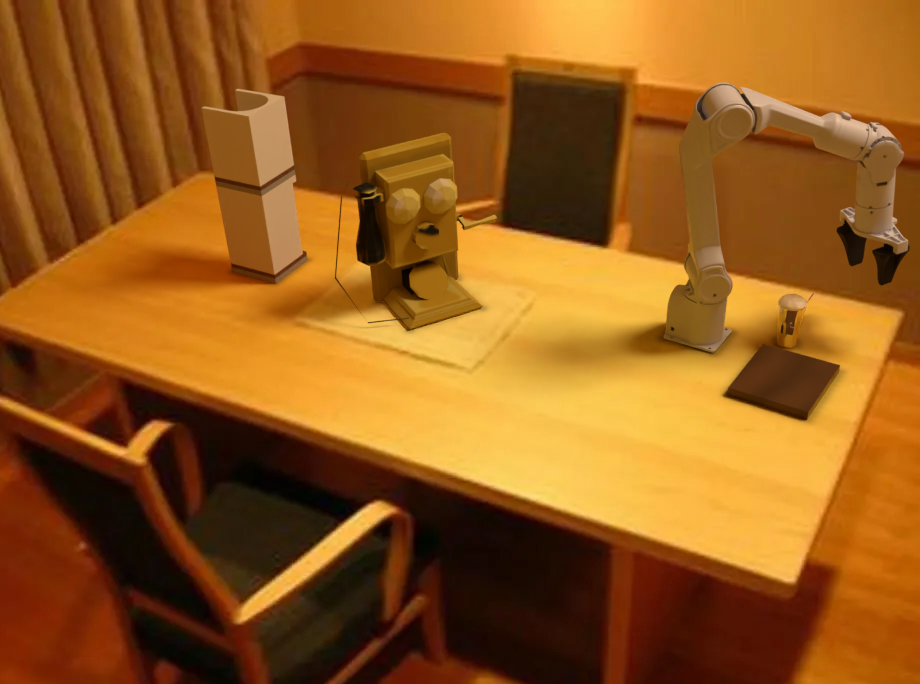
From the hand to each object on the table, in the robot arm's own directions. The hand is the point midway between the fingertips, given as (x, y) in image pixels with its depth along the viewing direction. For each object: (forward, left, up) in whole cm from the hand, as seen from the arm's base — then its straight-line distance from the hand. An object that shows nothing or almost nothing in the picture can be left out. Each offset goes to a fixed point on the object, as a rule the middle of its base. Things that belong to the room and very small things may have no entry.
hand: (870, 273), depth 181 cm
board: (-5, -22, -11) cm, 25 cm away
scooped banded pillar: (-108, -34, -11) cm, 114 cm away
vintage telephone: (-71, -31, -11) cm, 78 cm away
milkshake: (-9, -10, -11) cm, 17 cm away
